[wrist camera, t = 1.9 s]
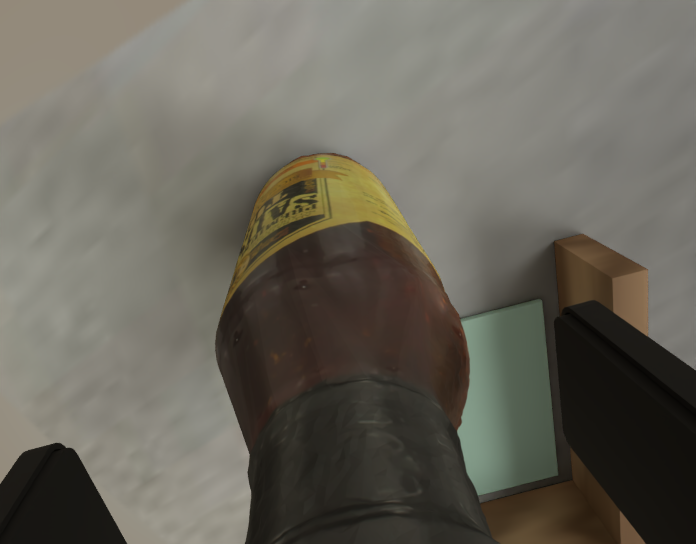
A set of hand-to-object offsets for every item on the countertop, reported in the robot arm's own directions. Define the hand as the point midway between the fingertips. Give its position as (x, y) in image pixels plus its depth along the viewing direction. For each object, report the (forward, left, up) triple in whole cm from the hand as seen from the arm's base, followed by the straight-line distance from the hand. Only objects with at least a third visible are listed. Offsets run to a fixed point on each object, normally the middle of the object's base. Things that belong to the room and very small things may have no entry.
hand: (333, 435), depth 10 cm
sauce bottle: (-1, 0, -15) cm, 15 cm away
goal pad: (-5, +13, -15) cm, 20 cm away
